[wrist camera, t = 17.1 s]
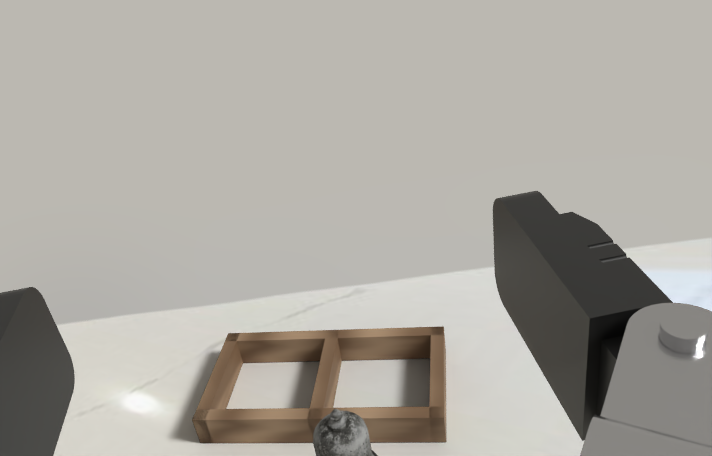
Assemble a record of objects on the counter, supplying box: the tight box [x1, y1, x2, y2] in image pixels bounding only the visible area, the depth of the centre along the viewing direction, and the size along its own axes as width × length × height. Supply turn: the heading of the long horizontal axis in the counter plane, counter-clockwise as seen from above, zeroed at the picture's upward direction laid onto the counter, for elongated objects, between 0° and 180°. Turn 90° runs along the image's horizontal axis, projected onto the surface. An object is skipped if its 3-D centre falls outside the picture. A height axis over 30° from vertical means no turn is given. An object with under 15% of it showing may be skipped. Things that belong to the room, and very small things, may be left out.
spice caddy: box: [192, 327, 446, 443], centre depth 51 cm, size 18×10×2 cm, turn 84°
